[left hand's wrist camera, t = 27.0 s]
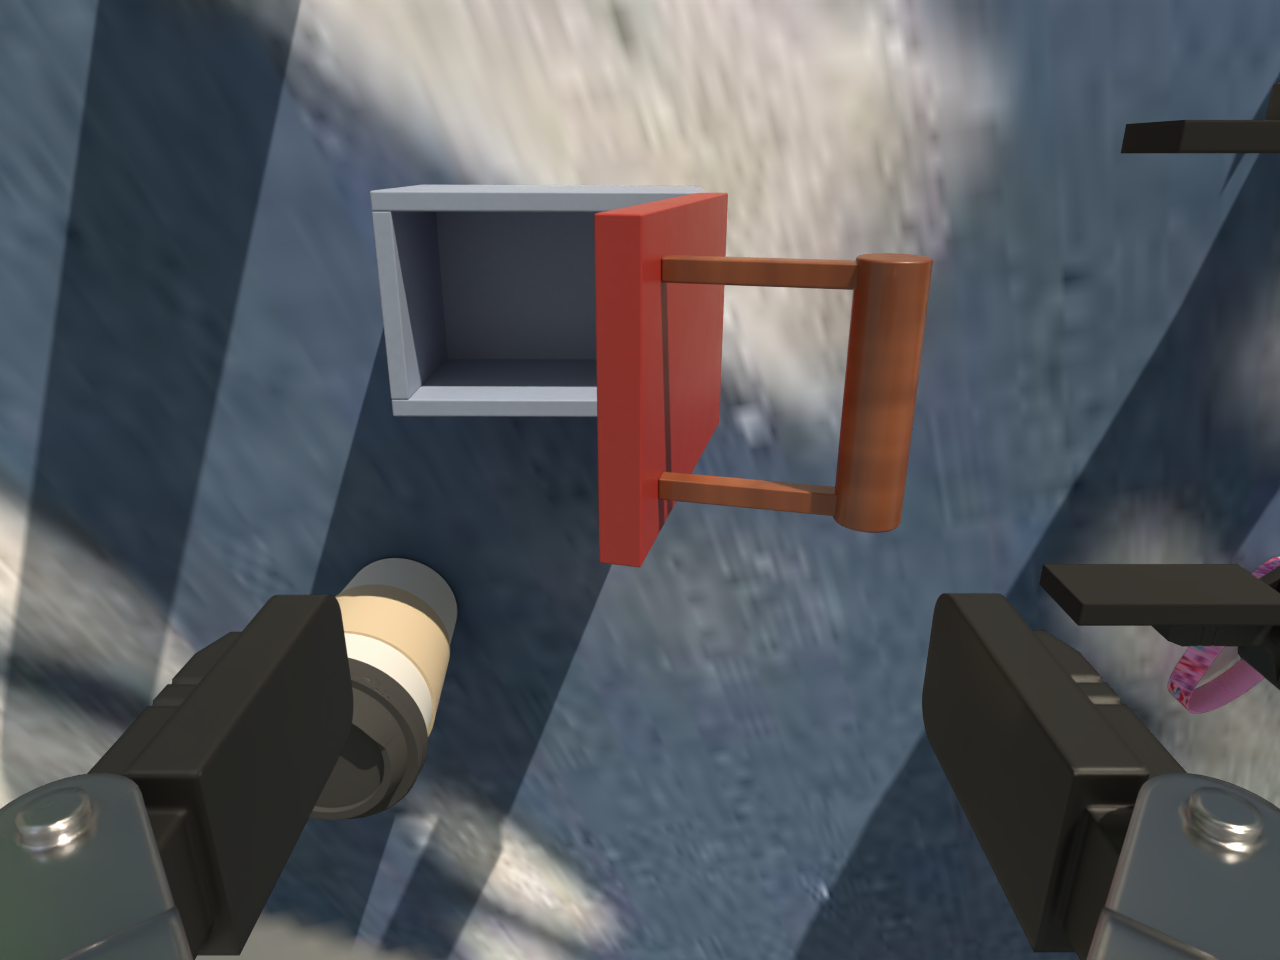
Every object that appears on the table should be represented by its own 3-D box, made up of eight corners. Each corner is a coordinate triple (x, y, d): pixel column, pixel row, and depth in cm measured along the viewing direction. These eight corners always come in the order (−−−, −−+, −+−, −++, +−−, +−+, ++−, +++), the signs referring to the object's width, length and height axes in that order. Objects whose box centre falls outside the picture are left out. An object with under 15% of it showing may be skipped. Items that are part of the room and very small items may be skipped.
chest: (437, 369, 47) (392, 416, 39) (421, 184, 44) (369, 190, 35) (692, 370, 48) (704, 417, 39) (697, 185, 44) (711, 192, 35)
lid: (598, 563, 25) (899, 597, 23) (593, 213, 21) (947, 219, 19) (691, 421, 38) (885, 435, 37) (697, 192, 35) (912, 195, 33)
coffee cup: (417, 693, 55) (341, 876, 41) (300, 612, 53) (178, 776, 39) (504, 601, 53) (454, 762, 38) (385, 512, 50) (286, 649, 36)
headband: (1205, 707, 55) (1226, 728, 53) (1155, 685, 55) (1174, 705, 53) (1318, 573, 52) (1346, 590, 50) (1266, 548, 51) (1291, 564, 49)
